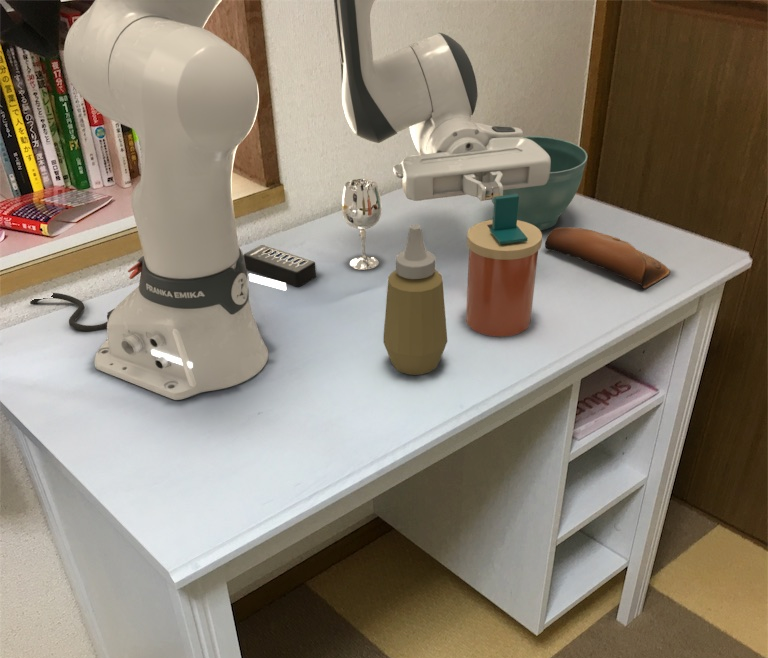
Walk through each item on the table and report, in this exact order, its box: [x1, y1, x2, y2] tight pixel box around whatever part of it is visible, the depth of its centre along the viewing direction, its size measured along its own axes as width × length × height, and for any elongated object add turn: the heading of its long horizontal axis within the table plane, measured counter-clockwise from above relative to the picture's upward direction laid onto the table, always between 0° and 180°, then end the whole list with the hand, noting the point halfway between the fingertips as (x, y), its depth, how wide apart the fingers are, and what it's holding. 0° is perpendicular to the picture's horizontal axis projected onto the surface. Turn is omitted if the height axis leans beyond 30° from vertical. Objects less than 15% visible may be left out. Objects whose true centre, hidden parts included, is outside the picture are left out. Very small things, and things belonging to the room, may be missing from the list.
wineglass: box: [341, 178, 382, 271], centre depth 121 cm, size 6×6×12 cm
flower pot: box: [491, 135, 588, 231], centre depth 131 cm, size 16×16×11 cm
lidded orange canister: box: [465, 247, 539, 338], centre depth 108 cm, size 9×9×11 cm
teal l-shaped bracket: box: [490, 194, 528, 244], centre depth 101 cm, size 4×4×4 cm
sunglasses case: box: [544, 226, 671, 290], centre depth 122 cm, size 18×7×7 cm
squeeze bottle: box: [383, 224, 448, 376], centre depth 98 cm, size 8×8×18 cm
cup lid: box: [466, 219, 543, 260], centre depth 104 cm, size 9×9×1 cm
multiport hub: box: [243, 244, 317, 288], centre depth 123 cm, size 4×11×2 cm, turn 54°
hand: (492, 194), depth 105 cm, fingers closed
